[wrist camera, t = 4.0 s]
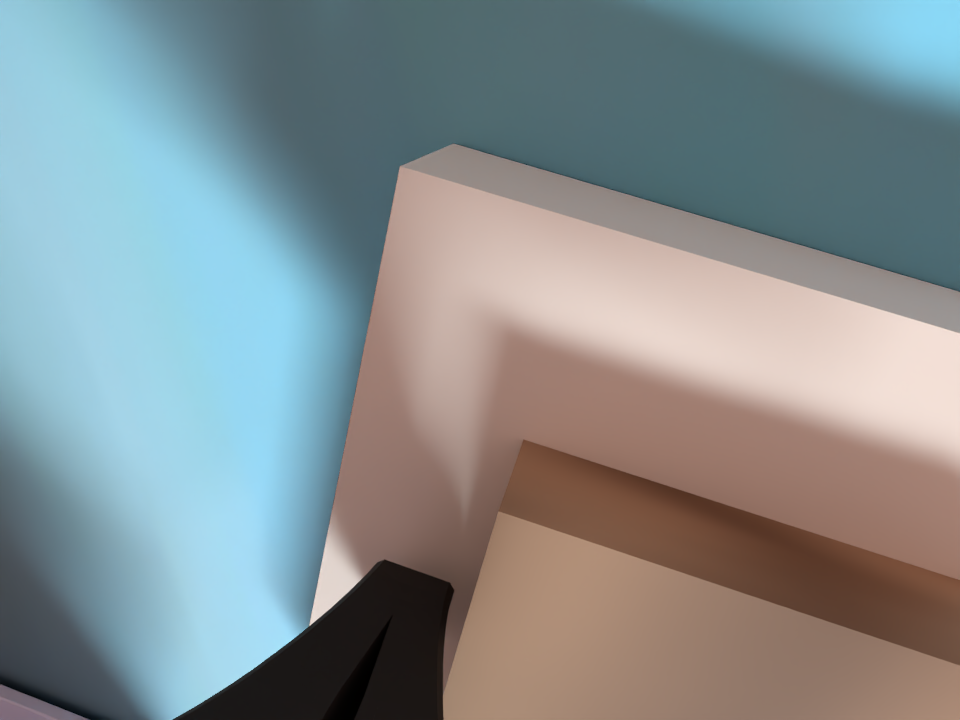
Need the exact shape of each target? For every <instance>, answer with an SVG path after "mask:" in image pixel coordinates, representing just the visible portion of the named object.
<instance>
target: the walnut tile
mask: <svg viewBox="0 0 960 720" xmlns="http://www.w3.org/2000/svg"><path fill="white" fill-rule="evenodd" d="M443 718H444V720H960V580H958V579H955V578H952V577H948V576H945V575H942V574H939V573H936V572H933V571H930V570H927V569H924V568H921V567H917V566H914V565H911V564H908V563H905V562H902V561H899V560H896V559H893V558H890V557H886V556H883V555H880V554H877V553H874V552H871V551H868V550H865V549H862V548H859V547H855V546H852V545H849V544H846V543H843V542H840V541H837V540H834V539H831V538H828V537H824V536H821V535H818V534H815V533H812V532H809V531H806V530H803V529H800V528H797V527H793V526H790V525H787V524H784V523H781V522H778V521H775V520H772V519H769V518H766V517H762V516H759V515H756V514H753V513H750V512H747V511H744V510H741V509H738V508H735V507H731V506H728V505H725V504H722V503H719V502H716V501H713V500H710V499H707V498H704V497H700V496H697V495H694V494H691V493H688V492H685V491H682V490H679V489H676V488H673V487H669V486H666V485H663V484H660V483H657V482H654V481H651V480H648V479H645V478H642V477H638V476H635V475H632V474H629V473H626V472H623V471H620V470H617V469H614V468H611V467H607V466H604V465H601V464H598V463H595V462H592V461H589V460H586V459H583V458H580V457H576V456H573V455H570V454H567V453H564V452H561V451H558V450H555V449H552V448H549V447H545V446H542V445H539V444H536V443H533V442H530V441H527V440H524V439H523V442H522V445H521V448H520V451H519V454H518V457H517V459H516V462H515V465H514V468H513V471H512V474H511V477H510V479H509V482H508V485H507V488H506V491H505V494H504V497H503V499H502V502H501V505H500V508H499V511H498V514H497V517H496V521H495V524H494V527H493V531H492V534H491V537H490V541H489V544H488V547H487V551H486V554H485V557H484V561H483V564H482V567H481V571H480V574H479V577H478V581H477V584H476V587H475V591H474V594H473V597H472V601H471V604H470V607H469V610H468V614H467V617H466V620H465V624H464V627H463V630H462V634H461V637H460V640H459V644H458V647H457V650H456V654H455V657H454V660H453V664H452V667H451V670H450V674H449V677H448V680H447V684H446V687H445V690H444V694H443Z"/></svg>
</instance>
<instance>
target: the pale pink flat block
mask: <svg viewBox="0 0 960 720" xmlns="http://www.w3.org/2000/svg"><path fill="white" fill-rule="evenodd" d="M523 439H524V440H527V441H530V442H533V443H536V444H539V445H542V446H545V447H549V448H552V449H555V450H558V451H561V452H564V453H567V454H570V455H573V456H576V457H580V458H583V459H586V460H589V461H592V462H595V463H598V464H601V465H604V466H607V467H611V468H614V469H617V470H620V471H623V472H626V473H629V474H632V475H635V476H638V477H642V478H645V479H648V480H651V481H654V482H657V483H660V484H663V485H666V486H669V487H673V488H676V489H679V490H682V491H685V492H688V493H691V494H694V495H697V496H700V497H704V498H707V499H710V500H713V501H716V502H719V503H722V504H725V505H728V506H731V507H735V508H738V509H741V510H744V511H747V512H750V513H753V514H756V515H759V516H762V517H766V518H769V519H772V520H775V521H778V522H781V523H784V524H787V525H790V526H793V527H797V528H800V529H803V530H806V531H809V532H812V533H815V534H818V535H821V536H824V537H828V538H831V539H834V540H837V541H840V542H843V543H846V544H849V545H852V546H855V547H859V548H862V549H865V550H868V551H871V552H874V553H877V554H880V555H883V556H886V557H890V558H893V559H896V560H899V561H902V562H905V563H908V564H911V565H914V566H917V567H921V568H924V569H927V570H930V571H933V572H936V573H939V574H942V575H945V576H948V577H952V578H955V579H958V580H960V292H959V291H955V290H952V289H949V288H945V287H942V286H938V285H935V284H931V283H928V282H925V281H921V280H918V279H914V278H911V277H908V276H904V275H901V274H897V273H894V272H891V271H887V270H884V269H880V268H877V267H873V266H870V265H867V264H863V263H860V262H856V261H853V260H850V259H846V258H843V257H839V256H836V255H832V254H829V253H826V252H822V251H819V250H815V249H812V248H809V247H805V246H802V245H798V244H795V243H792V242H788V241H785V240H781V239H778V238H774V237H771V236H768V235H764V234H761V233H757V232H754V231H751V230H747V229H744V228H740V227H737V226H733V225H730V224H727V223H723V222H720V221H716V220H713V219H710V218H706V217H703V216H699V215H696V214H693V213H689V212H686V211H682V210H679V209H675V208H672V207H669V206H665V205H662V204H658V203H655V202H652V201H648V200H645V199H641V198H638V197H634V196H631V195H628V194H624V193H621V192H617V191H614V190H611V189H607V188H604V187H600V186H597V185H594V184H590V183H587V182H583V181H580V180H576V179H573V178H570V177H566V176H563V175H559V174H556V173H553V172H549V171H546V170H542V169H539V168H535V167H532V166H529V165H525V164H522V163H518V162H515V161H512V160H508V159H505V158H501V157H498V156H494V155H491V154H488V153H484V152H481V151H477V150H474V149H471V148H467V147H464V146H460V145H457V144H451V145H449V146H447V147H444V148H442V149H439V150H437V151H435V152H432V153H430V154H428V155H425V156H423V157H421V158H418V159H416V160H413V161H411V162H409V163H406V164H404V165H402V166H400V168H399V173H398V179H397V184H396V189H395V194H394V199H393V204H392V209H391V214H390V219H389V224H388V229H387V234H386V239H385V244H384V249H383V255H382V260H381V265H380V270H379V275H378V280H377V285H376V290H375V295H374V300H373V305H372V310H371V315H370V320H369V325H368V331H367V336H366V341H365V346H364V351H363V356H362V361H361V366H360V371H359V376H358V381H357V386H356V391H355V396H354V401H353V407H352V412H351V417H350V422H349V427H348V432H347V437H346V442H345V447H344V452H343V457H342V462H341V467H340V472H339V477H338V483H337V488H336V493H335V498H334V503H333V508H332V513H331V518H330V523H329V528H328V533H327V538H326V543H325V548H324V553H323V559H322V564H321V569H320V574H319V579H318V584H317V589H316V594H315V599H314V604H313V609H312V614H311V619H310V624H309V626H310V625H311V624H313V623H314V622H315V621H316V620H317V619H318V618H320V617H321V616H322V615H323V614H324V613H326V612H327V611H328V610H329V609H330V608H331V607H333V606H334V605H335V604H336V603H337V602H338V601H339V600H340V599H341V598H342V597H344V596H345V595H346V594H347V593H348V592H349V591H350V590H351V589H352V588H353V587H354V586H355V585H356V584H357V583H358V582H359V581H360V580H361V579H362V578H363V577H364V576H365V575H366V574H367V573H368V572H369V571H370V570H371V569H372V567H373V566H374V565H375V564H376V563H377V562H379V561H382V560H384V559H385V560H388V561H391V562H393V563H396V564H399V565H402V566H405V567H408V568H410V569H413V570H416V571H419V572H422V573H425V574H427V575H430V576H433V577H436V578H439V579H442V580H444V581H447V582H450V583H451V585H452V587H453V589H454V594H453V597H452V601H451V604H450V607H449V611H448V617H447V623H446V631H445V642H444V656H443V694H444V690H445V687H446V684H447V680H448V677H449V674H450V670H451V667H452V664H453V660H454V657H455V654H456V650H457V647H458V644H459V640H460V637H461V634H462V630H463V627H464V624H465V620H466V617H467V614H468V610H469V607H470V604H471V601H472V597H473V594H474V591H475V587H476V584H477V581H478V577H479V574H480V571H481V567H482V564H483V561H484V557H485V554H486V551H487V547H488V544H489V541H490V537H491V534H492V531H493V527H494V524H495V521H496V517H497V514H498V511H499V508H500V505H501V502H502V499H503V497H504V494H505V491H506V488H507V485H508V482H509V479H510V477H511V474H512V471H513V468H514V465H515V462H516V459H517V457H518V454H519V451H520V448H521V445H522V442H523Z"/></svg>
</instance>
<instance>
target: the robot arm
mask: <svg viewBox="0 0 960 720" xmlns="http://www.w3.org/2000/svg"><path fill="white" fill-rule="evenodd" d="M453 594H454V589H453V587H452V585H451V583H450V582H447V581H444V580H442V579H439V578H436V577H433V576H430V575H427V574H425V573H422V572H419V571H416V570H413V569H410V568H408V567H405V566H402V565H399V564H396V563H393V562H391V561H388V560H385V559H384V560H382V561H379V562H377V563H376V564H375V565H374V566H373V567H372V569H371V570H370V571H369V572H368V573H367V574H366V575H365V576H364V577H363V578H362V579H361V580H360V581H359V582H358V583H357V584H356V585H355V586H354V587H353V588H352V589H351V590H350V591H349V592H348V593H347V594H346V595H345V596H344V597H342V598H341V599H340V600H339V601H338V602H337V603H336V604H335V605H334V606H333V607H331V608H330V609H329V610H328V611H327V612H326V613H324V614H323V615H322V616H321V617H320V618H318V619H317V620H316V621H315V622H314V623H313V624H311V625H310V626H309V627H308V628H307V629H305V630H304V631H303V632H302V633H301V634H299V635H298V636H297V637H296V638H294V639H293V640H292V641H290V642H289V643H288V644H286V645H285V646H284V647H282V648H281V649H280V650H278V651H277V652H276V653H274V654H273V655H272V656H270V657H269V658H268V659H266V660H265V661H264V662H262V663H261V664H260V665H258V666H257V667H256V668H254V669H253V670H251V671H250V672H248V673H247V674H245V675H244V676H243V677H241V678H240V679H238V680H237V681H235V682H234V683H232V684H231V685H229V686H228V687H226V688H225V689H223V690H221V691H220V692H218V693H217V694H215V695H213V696H212V697H210V698H209V699H207V700H205V701H204V702H202V703H201V704H199V705H197V706H196V707H194V708H192V709H191V710H189V711H187V712H185V713H183V714H182V715H180V716H178V717H176V718H175V719H173V720H444V718H443V656H444V642H445V631H446V623H447V617H448V611H449V607H450V604H451V601H452V597H453ZM0 720H89V719H87V718H84V717H82V716H79V715H77V714H74V713H72V712H69V711H67V710H64V709H62V708H59V707H57V706H54V705H52V704H49V703H47V702H44V701H42V700H39V699H37V698H34V697H32V696H29V695H26V694H24V693H21V692H19V691H16V690H14V689H11V688H9V687H6V686H4V685H1V684H0Z"/></svg>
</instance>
